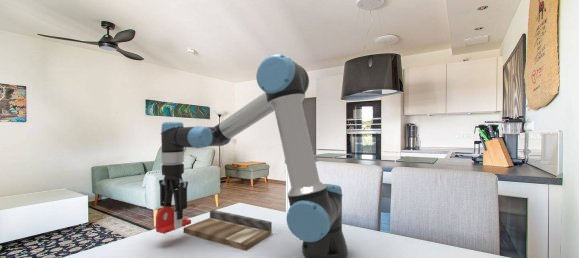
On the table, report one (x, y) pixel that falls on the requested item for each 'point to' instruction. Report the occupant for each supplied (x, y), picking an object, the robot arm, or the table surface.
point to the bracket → (167, 220)
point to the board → (231, 229)
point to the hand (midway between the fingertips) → (173, 226)
